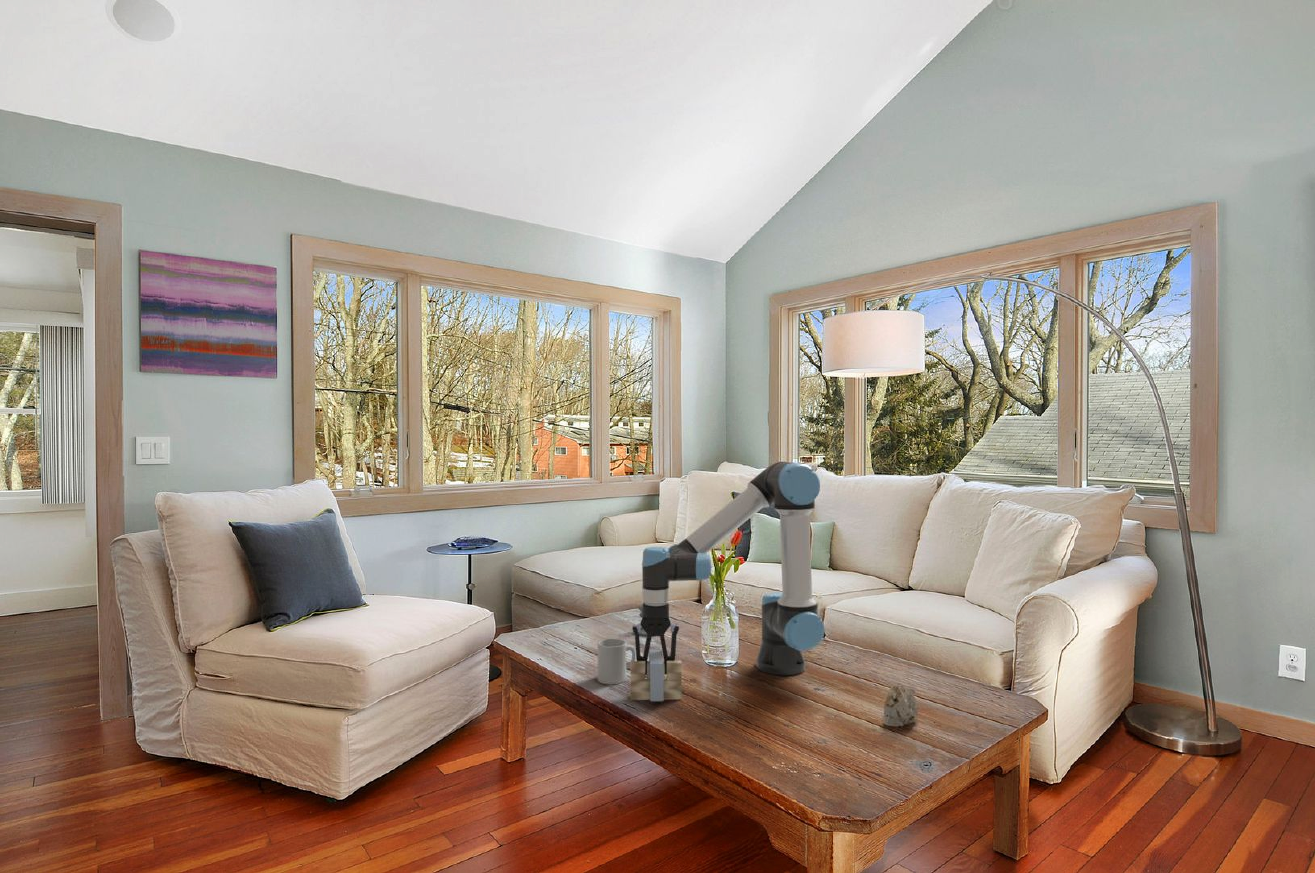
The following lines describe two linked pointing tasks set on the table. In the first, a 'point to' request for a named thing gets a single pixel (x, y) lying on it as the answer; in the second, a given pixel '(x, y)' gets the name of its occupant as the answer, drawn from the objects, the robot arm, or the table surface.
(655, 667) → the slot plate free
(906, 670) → the table surface
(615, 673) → the mug
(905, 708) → the rock
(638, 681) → the slot plate fixed
